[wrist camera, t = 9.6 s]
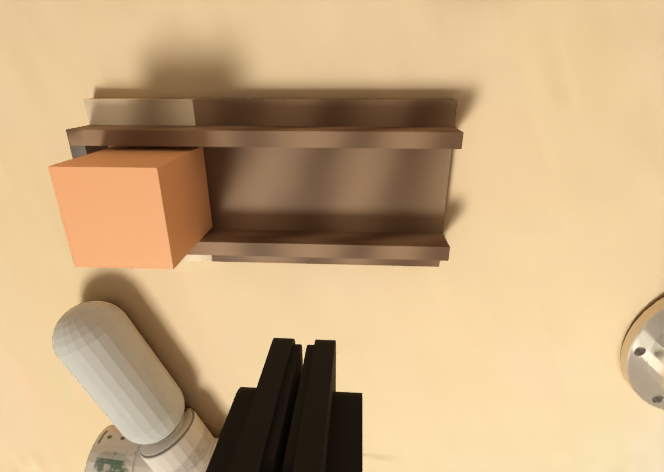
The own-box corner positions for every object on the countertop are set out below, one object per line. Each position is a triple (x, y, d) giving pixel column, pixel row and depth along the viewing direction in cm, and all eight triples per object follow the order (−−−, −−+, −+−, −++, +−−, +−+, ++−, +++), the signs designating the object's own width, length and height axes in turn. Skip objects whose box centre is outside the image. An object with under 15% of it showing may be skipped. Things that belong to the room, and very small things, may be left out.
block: (202, 145, 28) (156, 167, 22) (212, 226, 30) (173, 269, 24) (118, 144, 28) (48, 166, 22) (134, 225, 31) (74, 266, 24)
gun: (113, 516, 46) (77, 284, 35) (365, 544, 46) (409, 320, 35) (82, 574, 41) (27, 322, 30) (367, 605, 41) (419, 364, 29)
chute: (453, 99, 27) (466, 103, 24) (436, 260, 32) (445, 282, 29) (92, 98, 29) (59, 101, 25) (125, 253, 33) (100, 273, 30)
